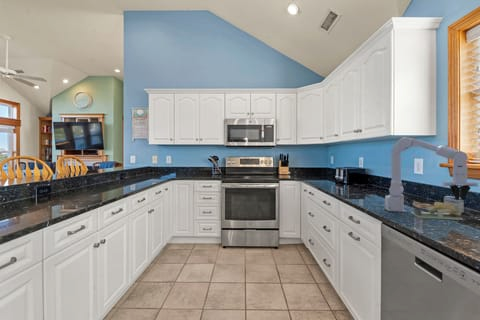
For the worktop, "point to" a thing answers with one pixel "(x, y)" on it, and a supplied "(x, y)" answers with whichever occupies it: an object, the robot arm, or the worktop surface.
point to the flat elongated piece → (436, 208)
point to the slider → (442, 205)
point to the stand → (435, 215)
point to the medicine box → (454, 203)
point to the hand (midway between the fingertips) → (459, 199)
